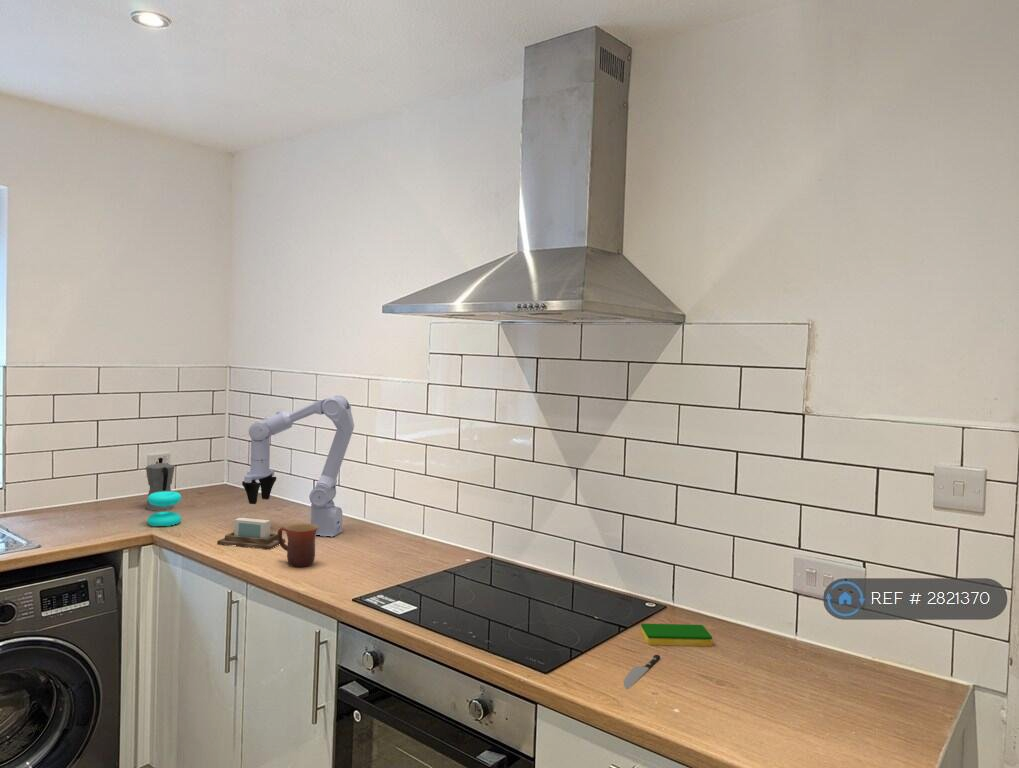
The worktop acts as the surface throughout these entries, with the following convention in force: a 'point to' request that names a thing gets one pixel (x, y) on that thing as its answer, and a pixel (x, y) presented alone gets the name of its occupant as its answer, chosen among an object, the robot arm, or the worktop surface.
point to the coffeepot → (159, 481)
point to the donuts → (166, 516)
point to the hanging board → (250, 541)
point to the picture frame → (252, 528)
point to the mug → (299, 543)
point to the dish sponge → (676, 634)
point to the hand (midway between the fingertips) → (259, 501)
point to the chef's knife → (638, 672)
